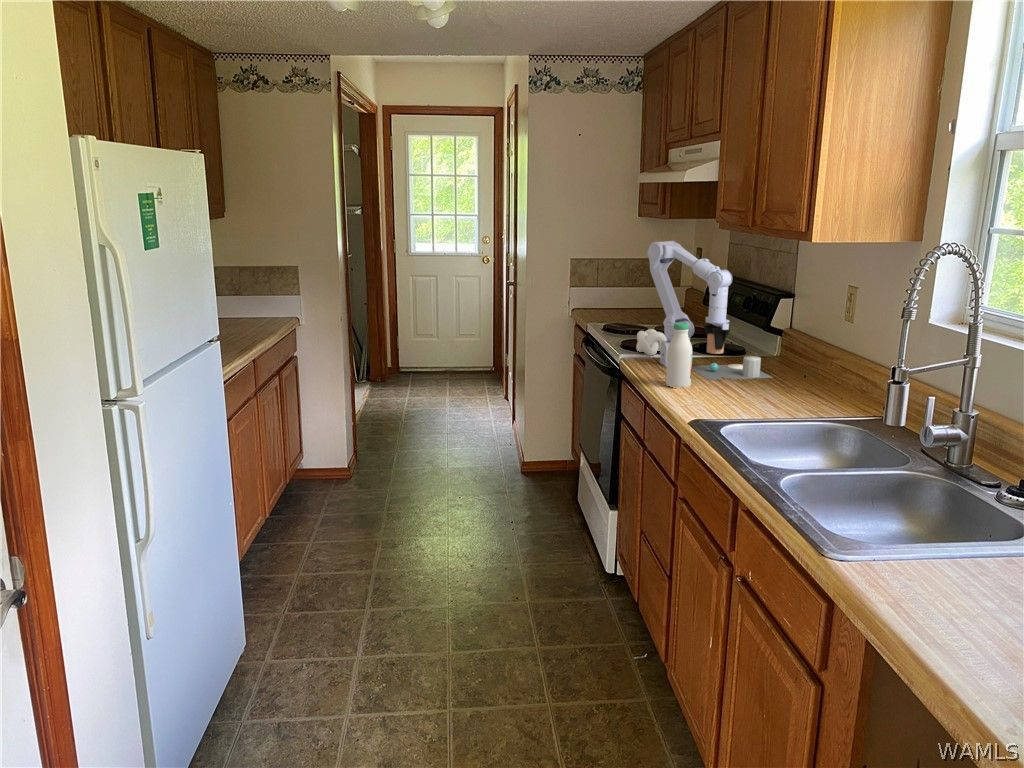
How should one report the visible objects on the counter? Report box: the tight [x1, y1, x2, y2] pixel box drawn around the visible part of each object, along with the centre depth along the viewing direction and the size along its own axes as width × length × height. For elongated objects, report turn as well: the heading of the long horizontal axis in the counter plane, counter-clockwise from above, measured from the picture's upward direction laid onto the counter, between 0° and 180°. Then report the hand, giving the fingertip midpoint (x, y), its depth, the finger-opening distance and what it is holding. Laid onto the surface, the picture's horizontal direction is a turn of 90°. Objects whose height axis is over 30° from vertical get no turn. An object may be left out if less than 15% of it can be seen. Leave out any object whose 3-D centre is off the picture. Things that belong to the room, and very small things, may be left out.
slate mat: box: [692, 363, 774, 381], centre depth 252 cm, size 22×20×1 cm
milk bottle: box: [665, 323, 693, 389], centre depth 233 cm, size 8×8×20 cm
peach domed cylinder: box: [706, 333, 725, 355], centre depth 250 cm, size 5×5×6 cm
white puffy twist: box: [635, 328, 667, 357], centre depth 281 cm, size 11×12×9 cm
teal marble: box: [709, 362, 719, 372], centre depth 252 cm, size 3×3×3 cm
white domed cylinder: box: [742, 355, 762, 377], centre depth 246 cm, size 5×5×6 cm
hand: (715, 347), depth 250 cm, fingers closed on peach domed cylinder, 5 cm apart
